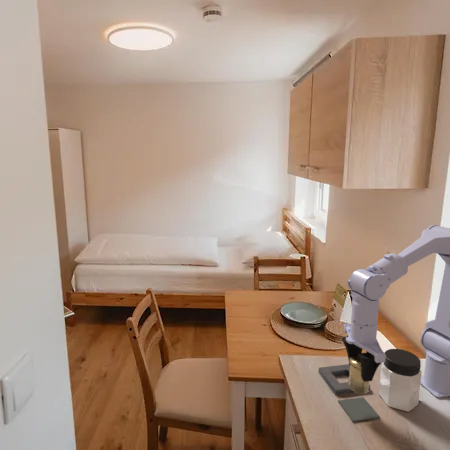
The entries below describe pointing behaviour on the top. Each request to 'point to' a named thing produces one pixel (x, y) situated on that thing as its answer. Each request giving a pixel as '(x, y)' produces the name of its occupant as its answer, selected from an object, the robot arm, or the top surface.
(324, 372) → the housing
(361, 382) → the gold rounded piece
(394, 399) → the jar
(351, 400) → the mat
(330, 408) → the top surface
